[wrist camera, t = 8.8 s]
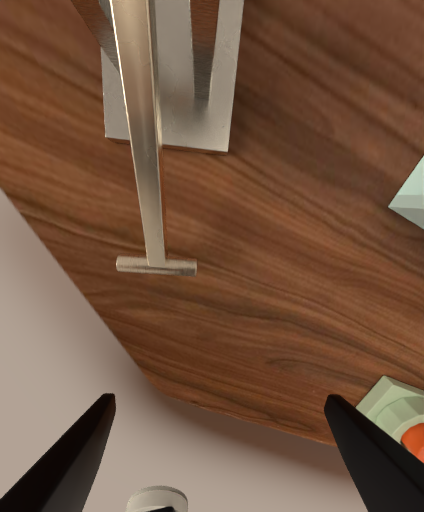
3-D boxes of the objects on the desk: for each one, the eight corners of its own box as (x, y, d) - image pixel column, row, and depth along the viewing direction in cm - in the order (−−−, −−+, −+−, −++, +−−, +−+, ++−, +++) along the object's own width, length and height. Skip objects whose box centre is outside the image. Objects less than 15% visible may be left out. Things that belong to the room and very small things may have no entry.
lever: (197, 261, 14) (195, 287, 13) (127, 256, 14) (115, 282, 12) (249, -348, 4) (287, -749, 2) (-44, -450, 3) (-352, -1095, 1)
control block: (346, 417, 23) (367, 448, 20) (383, 374, 22) (411, 401, 19) (401, 435, 25) (427, 466, 22) (439, 396, 23) (473, 424, 20)
